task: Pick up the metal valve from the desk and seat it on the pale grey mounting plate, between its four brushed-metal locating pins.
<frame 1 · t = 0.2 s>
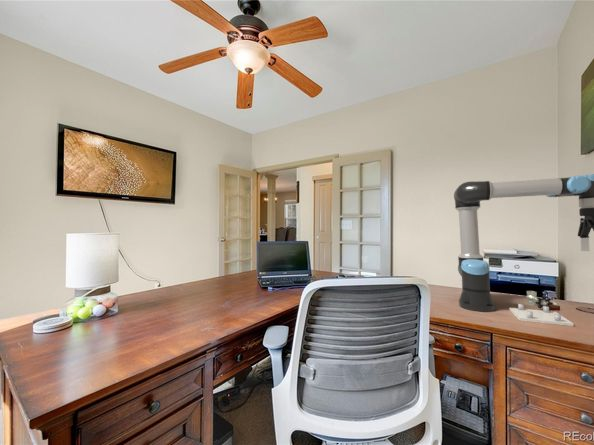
hand: (593, 252, 123), 27 cm above the table, tool pointing down, fingers open, 13 cm apart
valve: (537, 307, 131), on the table
mounting plate: (538, 317, 116), on the table
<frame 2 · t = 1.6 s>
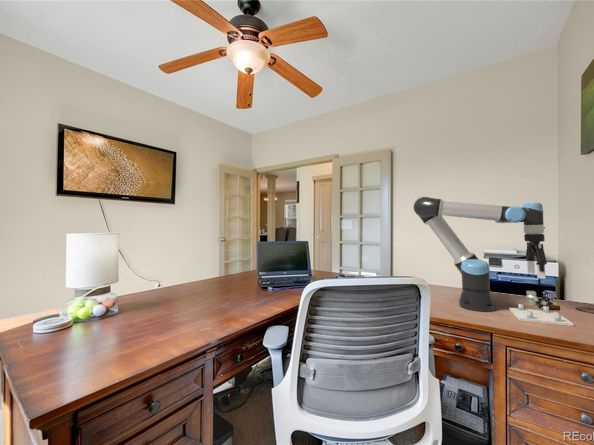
hand: (536, 275, 131), 15 cm above the table, tool pointing down, fingers open, 13 cm apart
nothing on the table moved.
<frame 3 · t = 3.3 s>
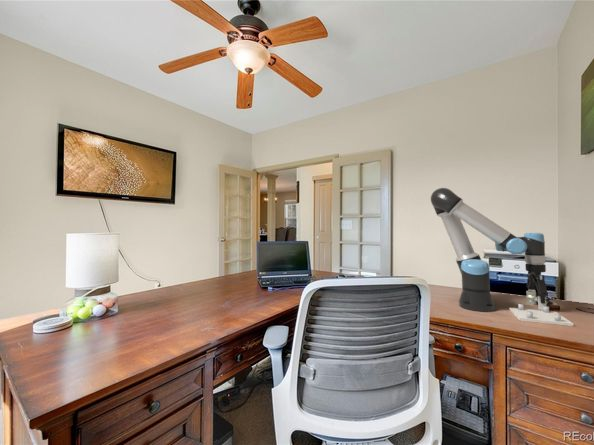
hand: (537, 306, 131), 0 cm above the table, tool pointing down, fingers open, 13 cm apart
valve: (536, 306, 131), on the table, touching gripper
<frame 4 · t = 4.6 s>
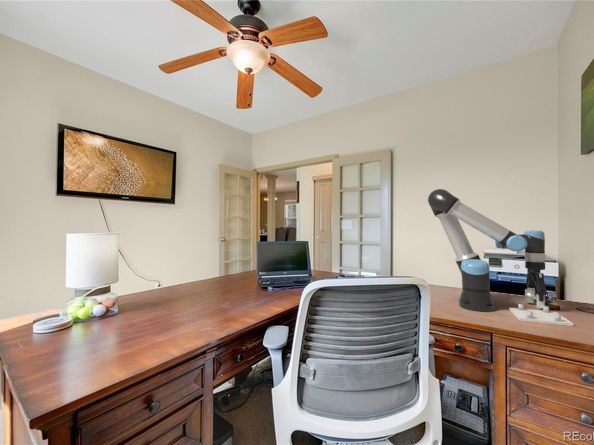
hand: (535, 304, 131), 1 cm above the table, tool pointing down, fingers closed on valve, 12 cm apart
valve: (535, 304, 131), point 1 cm above the table, touching gripper
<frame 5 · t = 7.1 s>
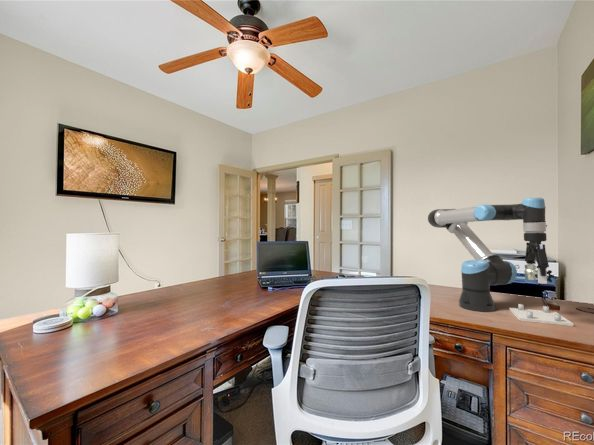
hand: (536, 280, 116), 16 cm above the table, tool pointing down, fingers closed on valve, 12 cm apart
valve: (536, 281, 117), point 16 cm above the table, touching gripper
when the fingers open (2 cm above the table, at t = 9.7 s): valve drops 1 cm, resting on mounting plate.
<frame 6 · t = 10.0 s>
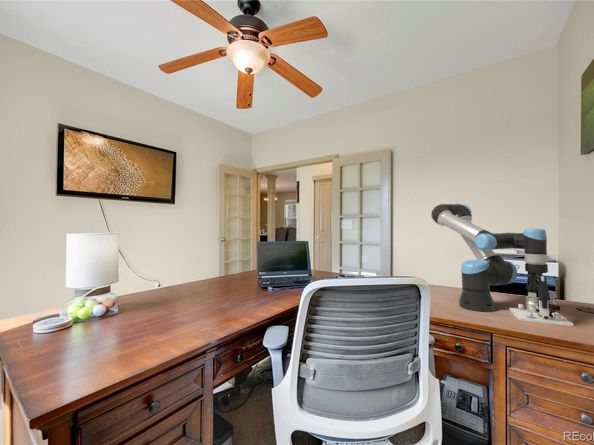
hand: (538, 311, 116), 3 cm above the table, tool pointing down, fingers open, 13 cm apart
valve: (537, 314, 117), point 1 cm above the table, touching mounting plate
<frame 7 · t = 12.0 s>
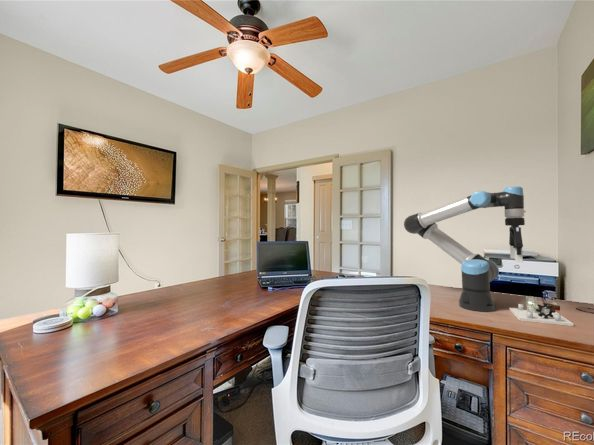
hand: (516, 260, 130), 24 cm above the table, tool pointing down, fingers open, 13 cm apart
nothing on the table moved.
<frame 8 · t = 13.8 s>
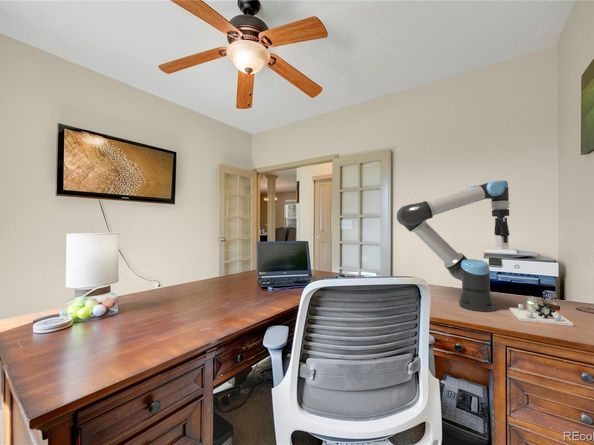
hand: (501, 248, 142), 29 cm above the table, tool pointing down, fingers open, 13 cm apart
nothing on the table moved.
at the end: valve 1.0 cm off-centre on the mounting plate, point 0.8 cm above the mounting plate's base; valve tilted 0°; the gripper is holding nothing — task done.
